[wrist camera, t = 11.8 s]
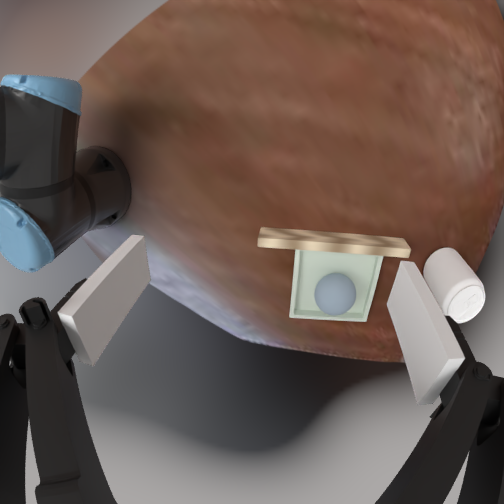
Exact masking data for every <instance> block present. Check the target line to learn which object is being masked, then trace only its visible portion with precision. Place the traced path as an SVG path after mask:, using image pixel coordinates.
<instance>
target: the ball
mask: <svg viewBox="0 0 504 504" xmlns="http://www.w3.org/2000/svg"><path fill="white" fill-rule="evenodd" d="M314 297H315V302H316V304H317V306H318V307H319V309H320V310H321V311H323V312H324V313H326V314H328V315H333V316H336V315H341V314H344V313H346V312H347V311H349V310H350V309H351V308H352V306H353V305H354V303H355V300H356V288H355V285H354V283H353V282H352V280H351V279H350V278H348V277H347V276H345V275H343V274H340V273H331V274H328V275H326V276H324V277H323V278H322V279H321V280H320V281H319V282H318V283H317V285H316V288H315V293H314Z"/></svg>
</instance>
